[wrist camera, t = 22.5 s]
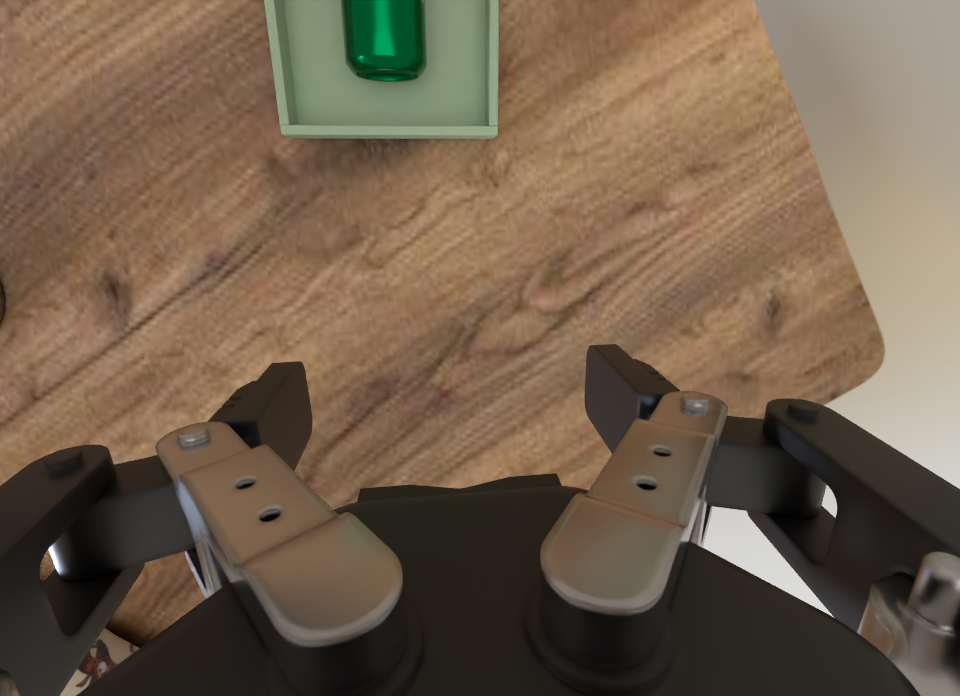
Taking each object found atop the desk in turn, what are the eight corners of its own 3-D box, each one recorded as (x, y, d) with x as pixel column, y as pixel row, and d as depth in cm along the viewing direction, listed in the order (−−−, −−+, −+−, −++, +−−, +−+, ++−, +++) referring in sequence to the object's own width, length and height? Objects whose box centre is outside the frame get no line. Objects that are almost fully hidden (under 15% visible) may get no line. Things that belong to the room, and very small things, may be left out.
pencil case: (-81, 584, 43) (-221, 694, 34) (-27, 526, 42) (-156, 625, 32) (136, 697, 50) (70, 814, 40) (190, 650, 48) (133, 760, 39)
